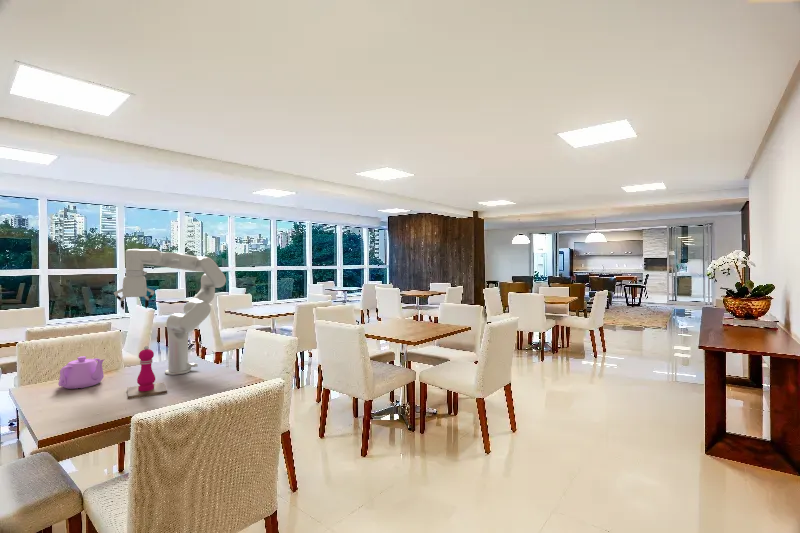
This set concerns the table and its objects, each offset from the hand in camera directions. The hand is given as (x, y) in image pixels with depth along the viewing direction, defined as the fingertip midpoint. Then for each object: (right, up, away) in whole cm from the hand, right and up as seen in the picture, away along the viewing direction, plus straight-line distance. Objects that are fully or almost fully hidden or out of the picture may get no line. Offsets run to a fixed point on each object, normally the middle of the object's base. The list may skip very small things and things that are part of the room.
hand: (134, 308), depth 212 cm
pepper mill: (+15, -36, -16) cm, 42 cm away
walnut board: (+15, -37, -15) cm, 43 cm away
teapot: (-19, -37, -7) cm, 42 cm away
